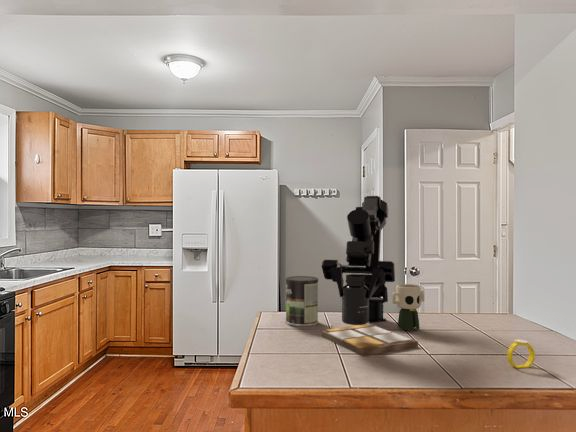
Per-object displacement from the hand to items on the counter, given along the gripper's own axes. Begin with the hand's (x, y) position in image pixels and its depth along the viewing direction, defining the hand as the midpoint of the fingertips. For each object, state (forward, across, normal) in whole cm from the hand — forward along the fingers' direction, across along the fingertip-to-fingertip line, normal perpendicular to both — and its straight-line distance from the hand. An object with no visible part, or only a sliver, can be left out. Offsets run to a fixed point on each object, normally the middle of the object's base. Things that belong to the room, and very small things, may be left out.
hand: (354, 297), depth 114 cm
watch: (+11, +37, +8) cm, 40 cm away
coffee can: (-7, -21, +27) cm, 35 cm away
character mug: (-8, +12, +27) cm, 31 cm away
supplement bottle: (+4, 0, +6) cm, 7 cm away
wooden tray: (+4, +2, +15) cm, 16 cm away
